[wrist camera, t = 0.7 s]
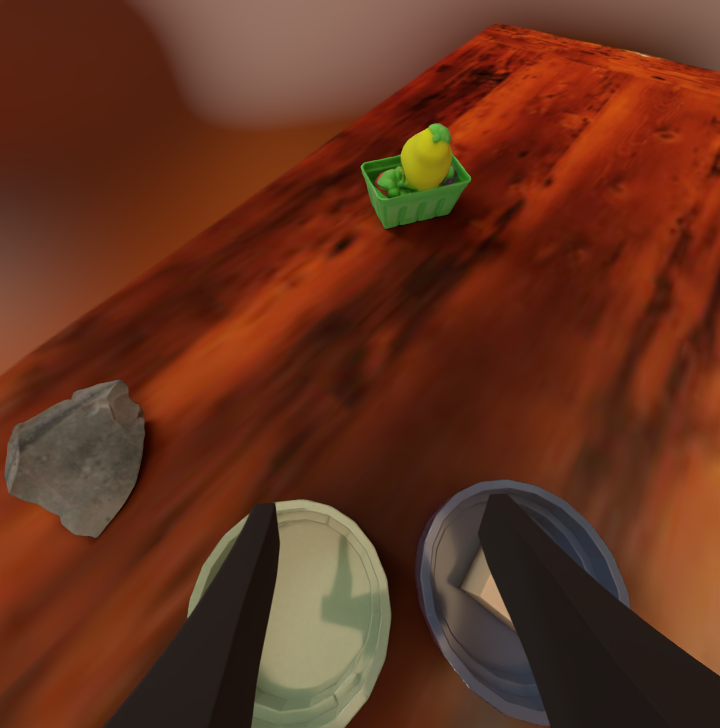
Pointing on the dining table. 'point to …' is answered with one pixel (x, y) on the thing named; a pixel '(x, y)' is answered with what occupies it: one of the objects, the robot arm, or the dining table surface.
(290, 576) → the sage bowl
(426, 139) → the fruit basket
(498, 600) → the block
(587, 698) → the robot arm
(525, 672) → the slate bowl
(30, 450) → the stone
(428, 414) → the dining table surface
